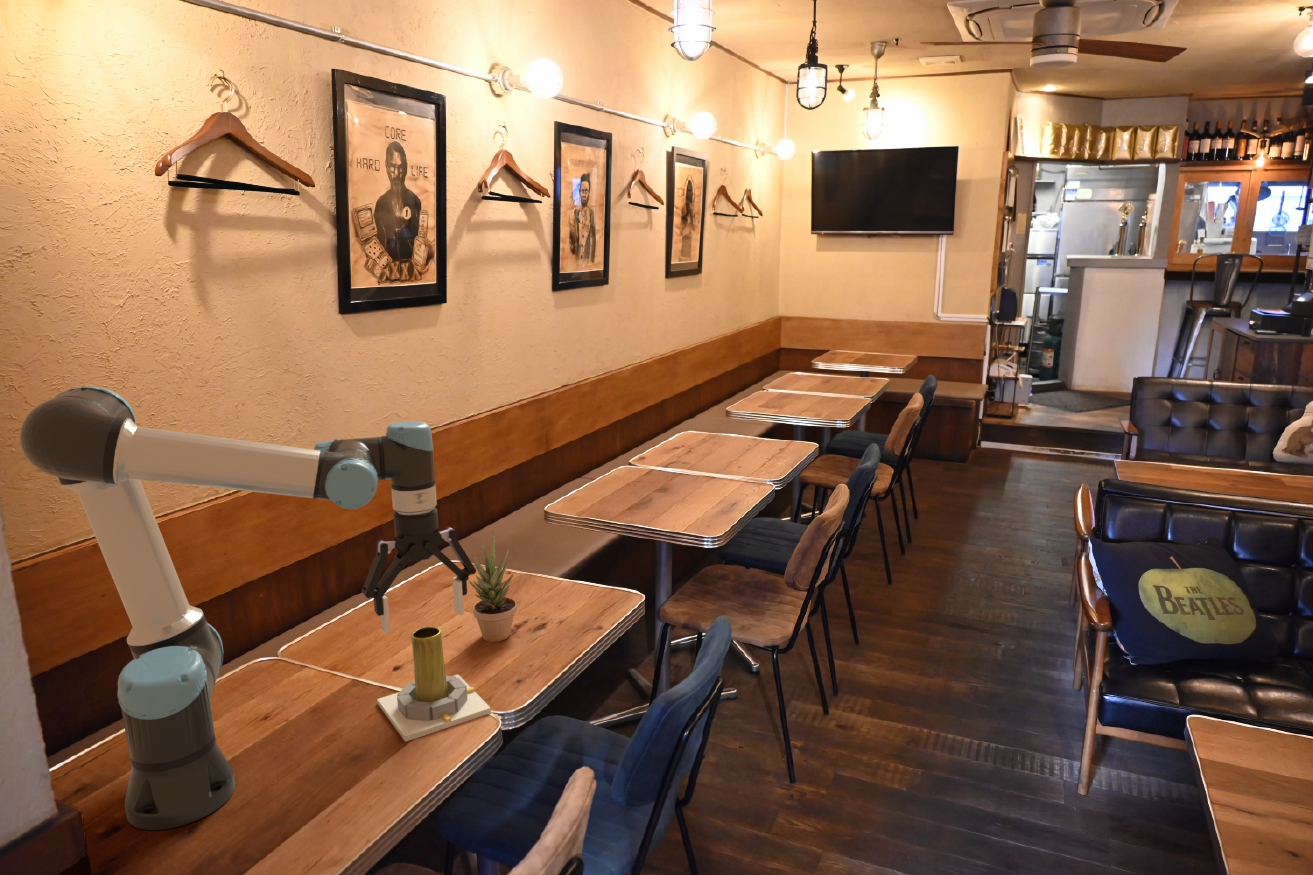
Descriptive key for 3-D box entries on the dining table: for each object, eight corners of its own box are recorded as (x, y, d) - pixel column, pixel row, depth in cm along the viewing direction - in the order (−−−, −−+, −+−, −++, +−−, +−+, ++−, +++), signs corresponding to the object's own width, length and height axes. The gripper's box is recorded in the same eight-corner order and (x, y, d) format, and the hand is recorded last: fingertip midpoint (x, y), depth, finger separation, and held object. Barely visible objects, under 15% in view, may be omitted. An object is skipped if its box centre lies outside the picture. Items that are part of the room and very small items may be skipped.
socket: (405, 741, 152) (403, 723, 151) (377, 703, 165) (375, 686, 164) (491, 712, 161) (489, 695, 160) (458, 678, 174) (457, 662, 173)
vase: (409, 710, 160) (402, 638, 157) (424, 694, 166) (418, 624, 163) (441, 713, 159) (434, 640, 156) (454, 696, 165) (448, 626, 162)
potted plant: (510, 646, 187) (503, 536, 182) (468, 644, 188) (459, 535, 183) (525, 626, 197) (518, 521, 191) (484, 624, 198) (476, 520, 193)
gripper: (348, 527, 144) (359, 646, 149) (489, 502, 158) (495, 611, 163) (337, 516, 151) (347, 631, 155) (473, 492, 164) (479, 598, 169)
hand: (423, 621), depth 159 cm, fingers open, 13 cm apart
